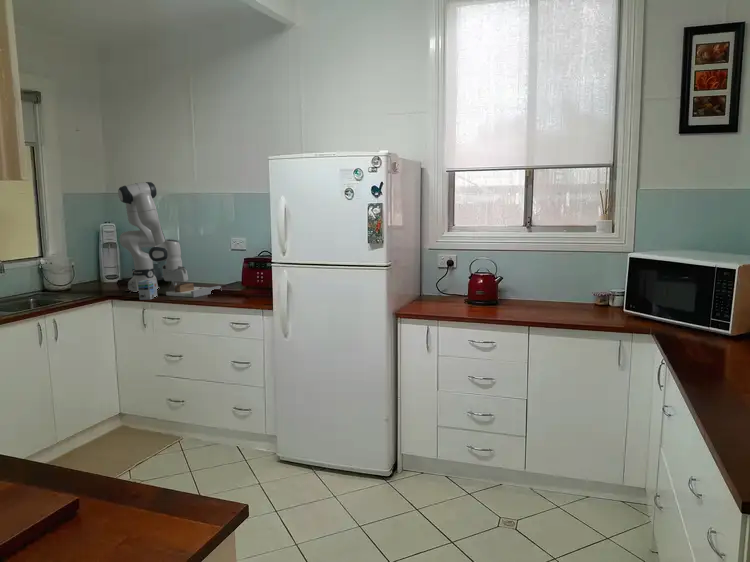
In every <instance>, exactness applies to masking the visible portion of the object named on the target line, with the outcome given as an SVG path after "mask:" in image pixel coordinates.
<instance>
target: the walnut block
mask: <svg viewBox="0 0 750 562" xmlns="http://www.w3.org/2000/svg"><path fill="white" fill-rule="evenodd" d="M174 287H175V289H174V290H175V292H185V291H191V290H194V287H195V286H194V283H193V282H192V283H191V282H186V283H185V282H184V283H182V284H181V283H180V285H173V288H174Z"/></svg>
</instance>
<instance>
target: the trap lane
mask: <svg viewBox="0 0 750 562" xmlns="http://www.w3.org/2000/svg"><path fill="white" fill-rule="evenodd" d="M220 288H221V289H222V285H217V286H211V287H207V286H206V287H204V286H201V287H200V286H194V290H191V291H185V292H175V289H174V290H170V291H165V295H166V296H172V297H186V298H197V297H202V296H206V295H212V294H211V291H212V290H214V289H220Z"/></svg>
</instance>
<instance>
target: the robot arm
mask: <svg viewBox="0 0 750 562" xmlns="http://www.w3.org/2000/svg"><path fill="white" fill-rule="evenodd" d="M117 194H118V195H117V196H118V198H119V200H120V201H121V202H122V203H124V204H125V209H126V214H127V215H126V216H127V219H128V220H127V221H128V223H129V224H130V225H132V226H133V227H136V228H138V230H127V231H124V232H122V233H121V234H120V235H119V238H118V239H119V244H120V245H121V246H122V248H124V249H125V250H127V251H128V252H129V253H130V255H131V256H132V257H131V258H132V259H133V265H134V270H133V271H132V273H133V276H132V277H131V279H130V280H129V281H128V283H127V289H129V290H131V291H133V292H137V291H139V288H138V282H140V281H143V280H149V279H156V287H157V289H158V288H159V289H160V286H159V285H158V280H157V277H156V275H155V273H156V272H155V271H156V270H155V268H154V262H156V263H158V262H159V263H160V262H166V263H165V264H163V265H162V266H161V267H162V275H163V277H162V278H163V281H165V282H171V283H172V285H173V288H174V290H175V287H174V285H180V284H181V283H185V282H186V283H188V281H189V276H188V271H187V269H186V267H185V266H183V260H182V258H181V257H182V250H181V249H182V248H181V245H180V242H179V241H178V240H176V239H166V237H165V234H164V231H163V229H162V226H161V222H160V217H159V213H158V209H157V206H156V203H155V200H154V198H155V197H156V196H157V187H156V185H155V184H154V183H153V182H152V181H145V182H137V183H136V182H135V183H131V184H127V185H122V186H120V187H119V188H118V189H117ZM142 248H150V249H149V251H148V252H145V251H144V250H143V249H142ZM159 289H158V290H159Z"/></svg>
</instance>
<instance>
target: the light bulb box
mask: <svg viewBox="0 0 750 562" xmlns="http://www.w3.org/2000/svg"><path fill="white" fill-rule="evenodd" d="M156 279H157V278H156ZM156 279H149V280H143V281H140V282H138V288H139V292H138V295H139V296H138V297H139V300H140V301H146V300H147V301H148V300H149V301H150V300H152V299H155V298H154V297H156V296H157V297H158V290H157V287H156ZM157 297H156V298H157Z"/></svg>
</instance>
